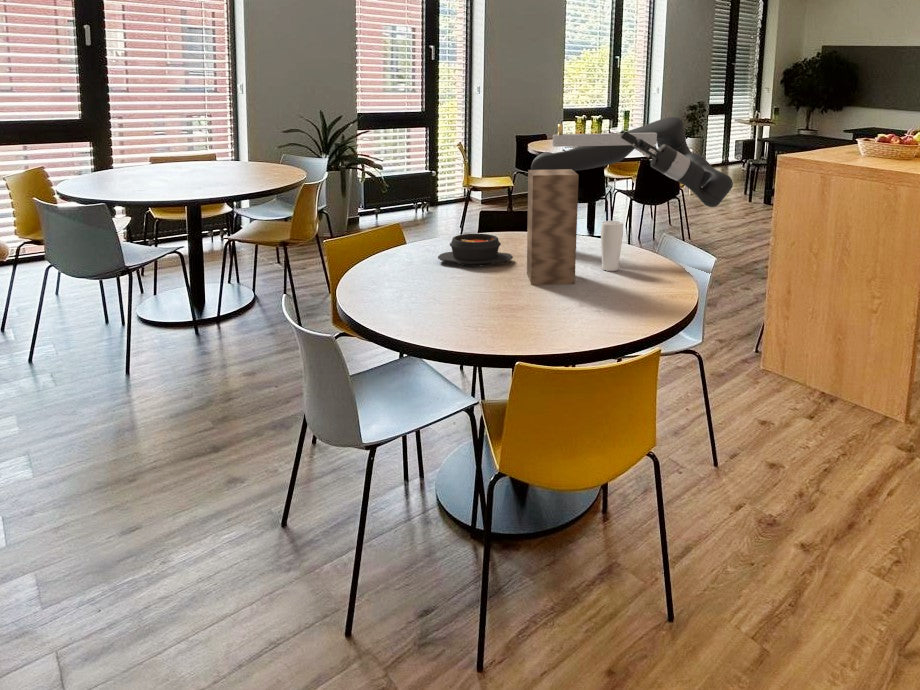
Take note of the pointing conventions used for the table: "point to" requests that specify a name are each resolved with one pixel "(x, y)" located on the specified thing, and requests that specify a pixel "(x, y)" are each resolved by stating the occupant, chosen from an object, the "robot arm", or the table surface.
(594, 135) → the bar
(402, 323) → the table surface
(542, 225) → the pedestal
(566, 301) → the table surface
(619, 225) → the white tapered cylinder
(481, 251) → the casserole
